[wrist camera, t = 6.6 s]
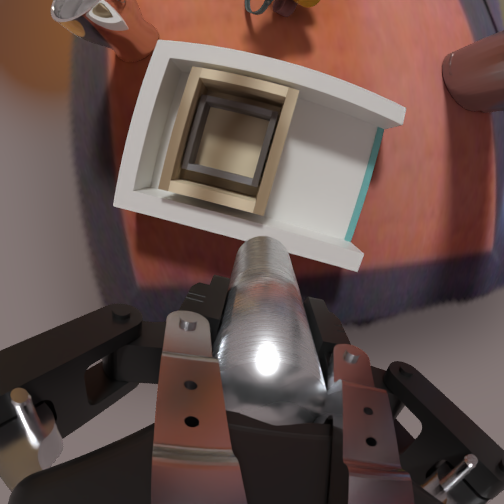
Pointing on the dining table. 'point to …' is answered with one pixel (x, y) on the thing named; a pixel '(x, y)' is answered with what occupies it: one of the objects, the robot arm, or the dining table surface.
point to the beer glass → (108, 25)
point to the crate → (228, 139)
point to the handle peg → (268, 340)
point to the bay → (291, 161)
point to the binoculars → (282, 6)
